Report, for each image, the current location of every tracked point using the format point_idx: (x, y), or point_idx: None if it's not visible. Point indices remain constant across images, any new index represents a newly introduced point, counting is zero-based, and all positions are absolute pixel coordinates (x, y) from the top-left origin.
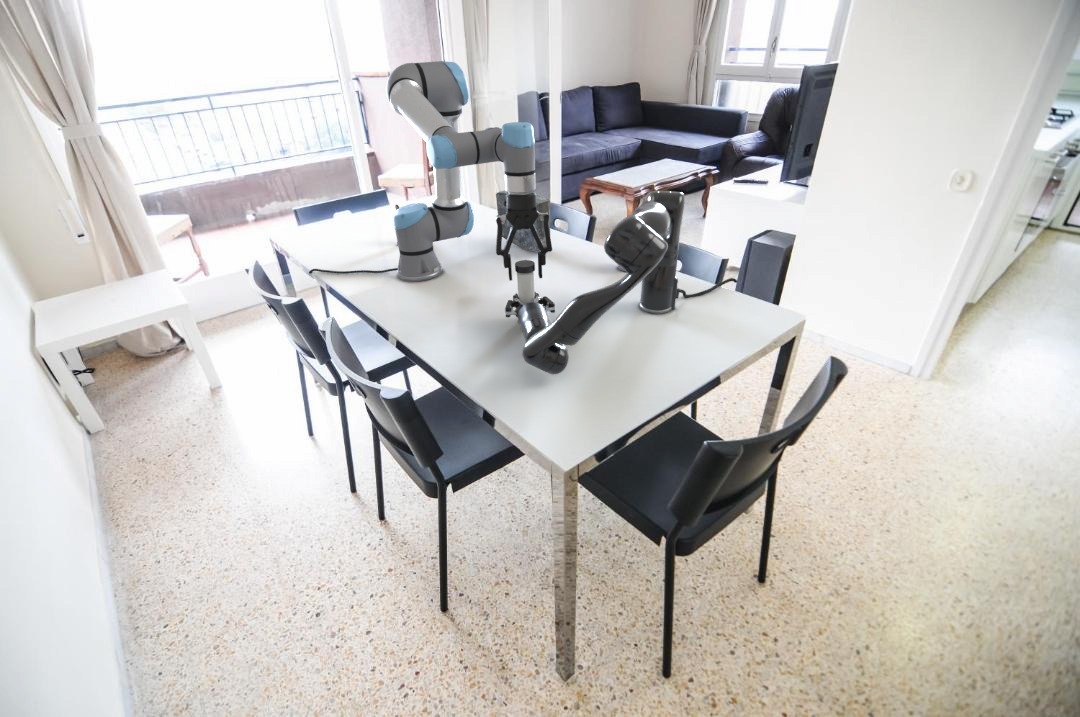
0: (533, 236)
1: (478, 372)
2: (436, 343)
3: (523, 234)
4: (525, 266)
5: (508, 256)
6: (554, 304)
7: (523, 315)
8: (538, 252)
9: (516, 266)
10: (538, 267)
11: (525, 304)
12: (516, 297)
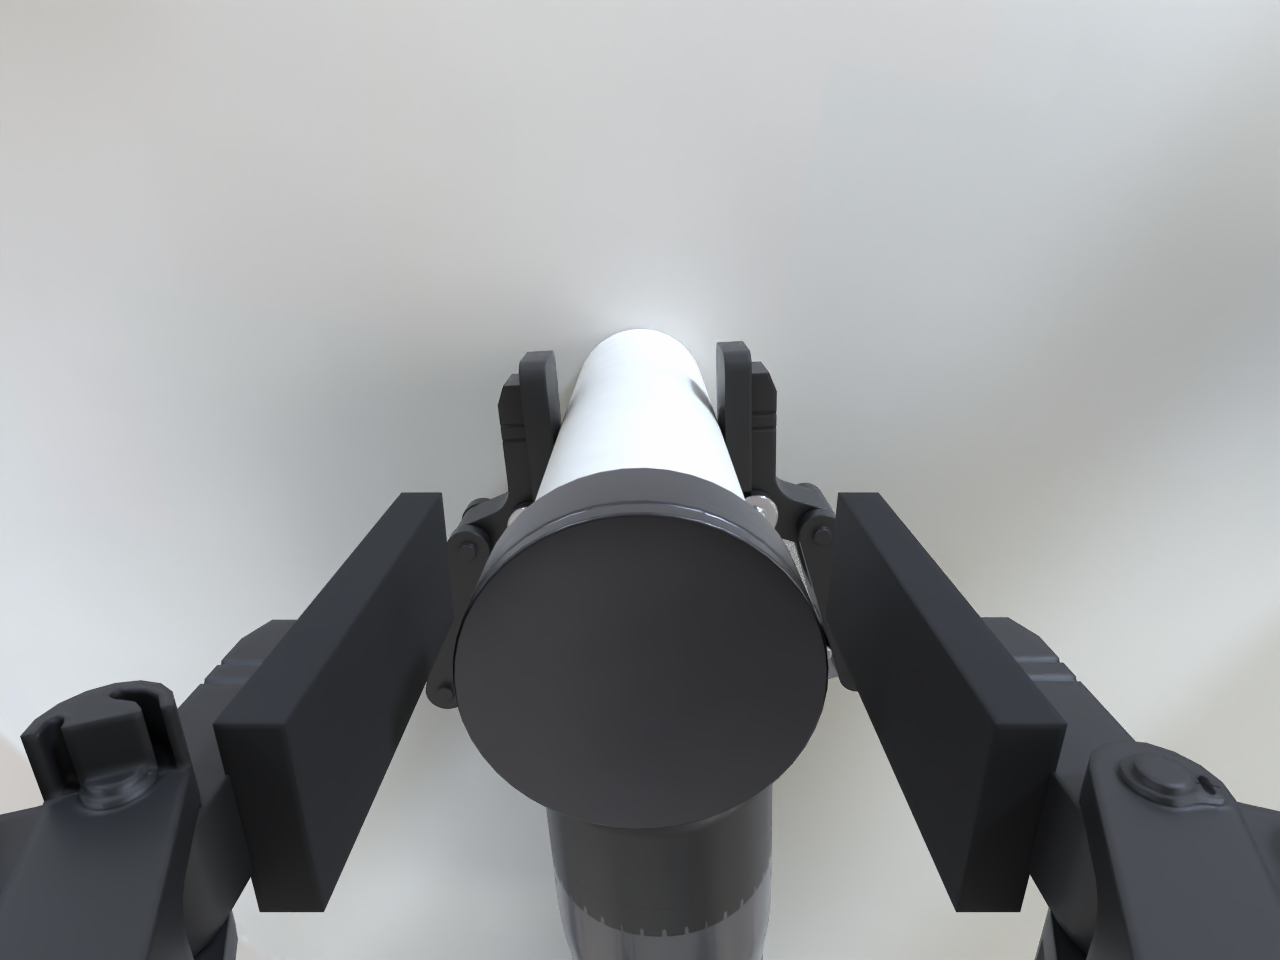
0: None
1: (344, 894)
2: (13, 600)
3: None
4: (640, 809)
5: (266, 863)
6: None
7: (576, 916)
8: (1007, 757)
9: (485, 752)
10: (871, 602)
11: (602, 830)
12: (533, 482)
